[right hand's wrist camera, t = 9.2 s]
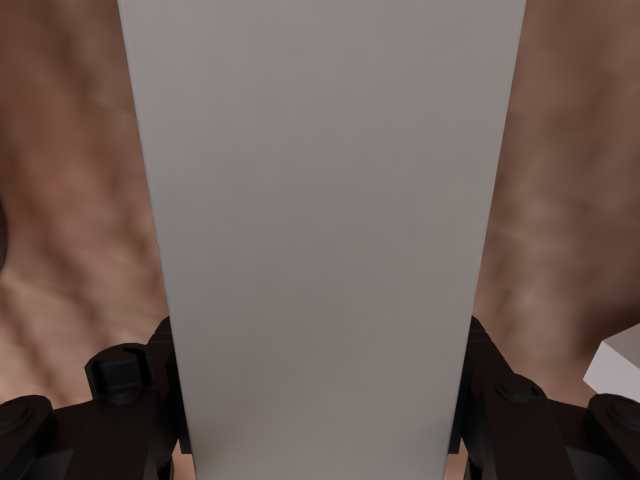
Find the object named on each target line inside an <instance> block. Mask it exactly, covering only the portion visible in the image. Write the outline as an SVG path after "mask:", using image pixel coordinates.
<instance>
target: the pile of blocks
mask: <svg viewBox="0 0 640 480" xmlns="http://www.w3.org/2000/svg"><path fill="white" fill-rule="evenodd" d="M583 380H584V381H585V382H586V383H587V384H588V385H589V386H590V387H592V388H593V389H594V390H595V391H596V392H597V393H598V394H603V393H610V394H616V395H621V396H624V397H627V398H630V399H633V400H635V401H637V402H639V403H640V324H637V325H635V326H633V327H631V328H629V329H627V330H624V331H622V332H620V333H618V334H616V335H614V336H611V337H609V338H607V339H605V340H603V341H602V342H601V344H600V346H599V348H598V350H597V352H596V354H595V356H594V358H593V360H592V362H591V364H590V366H589V368H588V370H587V372H586V375H585V377H584V379H583Z"/></svg>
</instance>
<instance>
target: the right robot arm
mask: <svg viewBox="0 0 640 480" xmlns="http://www.w3.org/2000/svg"><path fill="white" fill-rule="evenodd" d="M5 250H6V230H5V222H4V218H3V214H2V210H1V207H0V269H1V267H2V264H3V261H4V256H5ZM84 368H85V372H86V375H87V379H88V382H89V386H90V390H91V393H92V397H93V399H92V400H91V401H88V402H84V403H81V404H76V405H72V406H68V407H63V408H59V409H55V410H53V407H52V404H51V402H50V400H49V399H47V398H46V397H45V396H40V395H28V396H21V397H18V398H15V399H12V400H10V401H7V402H5V403H3V404H1V405H0V480H174V464H173V458H172V453H173V450H174V448H175V445H176V443H177V440H178V438H179V443H180V448H181V454H192V451H191V445H190V439H189V433H188V426H187V420H186V414H185V408H184V402H183V396H182V390H181V384H180V378H179V372H178V366H177V360H176V353H175V347H174V341H173V335H172V329H171V323H170V317H169V316H168V317H167V318H165V319H164V320H162V322H161V323H160V325H159V326H158V328H157V329H156V331H155V334H153V335H152V337H151V338H150V340H149V341H148V343H147V344H146V345H144V344H140V343H123V344H119V345H115V346H112V347H110V348H107V349H105V350H103V351H101V352H99V353H98V354H96V355H95V356H94V357H92V358H91V359H90V360H89V361H88V363H87V364H86V366H85V367H84ZM461 437H462V439H463V442H464V444H465V447H466V449H467V452H468V458H467V463H466V468H465V474H464V479H463V480H640V403H639V402H637V401H635V400H633V399H630V398H627V397H624V396H621V395H616V394H610V393H603V394H596V395H595V396H593V397H592V398H591V399H590V401H589V403H588V406H587V408H584V407H579V406H575V405H570V404H566V403H562V402H558V401H554V400H551V399H548V398H547V396H546V395H545V393H544V392H543V390H542V389H541V388H540V387H539V386H538V385H536V384H535V383H534V382H533V381H531V380H529V379H527V378H525V377H524V376H522V375H518V374H515V373H514V372H513V371H512V369H511V368H510V366H509V365H508V364H507V362H506V361H505V359H504V358H503V356H502V355H501V353H500V352H499V350H498V349H497V347H496V346H495V344H494V343H493V342H492V341H491V338H490V337H489V335H488V334H487V333H485V329H484V328H483V326H482V325H481V323H480V322H479V320H478V319H476V318H475V317H474V316H471V322H470V328H469V333H468V339H467V345H466V351H465V356H464V362H463V368H462V374H461V380H460V385H459V391H458V397H457V403H456V408H455V414H454V420H453V426H452V431H451V437H450V443H449V449H448V454H458V452H459V447H460V441H461Z"/></svg>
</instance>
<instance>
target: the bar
mask: <svg viewBox="0 0 640 480" xmlns="http://www.w3.org/2000/svg"><path fill="white" fill-rule="evenodd" d="M525 5H526V0H118V6H119V12H120V19H121V25H122V31H123V37H124V43H125V49H126V55H127V61H128V67H129V73H130V79H131V86H132V92H133V98H134V104H135V110H136V116H137V122H138V128H139V134H140V140H141V146H142V153H143V159H144V165H145V171H146V177H147V183H148V189H149V195H150V201H151V207H152V213H153V219H154V226H155V232H156V238H157V244H158V250H159V256H160V262H161V268H162V274H163V280H164V286H165V293H166V299H167V305H168V311H169V317H170V323H171V329H172V335H173V341H174V347H175V353H176V360H177V366H178V372H179V378H180V384H181V390H182V396H183V402H184V408H185V414H186V420H187V426H188V433H189V439H190V445H191V451H192V457H193V463H194V469H195V475H196V480H443V477H444V472H445V466H446V460H447V454H448V449H449V443H450V437H451V431H452V426H453V420H454V414H455V408H456V403H457V397H458V391H459V385H460V380H461V374H462V368H463V362H464V356H465V351H466V345H467V339H468V333H469V328H470V322H471V316H472V310H473V305H474V299H475V293H476V287H477V282H478V276H479V270H480V264H481V259H482V253H483V247H484V241H485V236H486V230H487V224H488V218H489V213H490V207H491V201H492V195H493V190H494V184H495V178H496V172H497V167H498V161H499V155H500V149H501V143H502V138H503V132H504V126H505V120H506V115H507V109H508V103H509V97H510V92H511V86H512V80H513V74H514V69H515V63H516V57H517V51H518V46H519V40H520V34H521V28H522V23H523V17H524V11H525Z"/></svg>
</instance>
